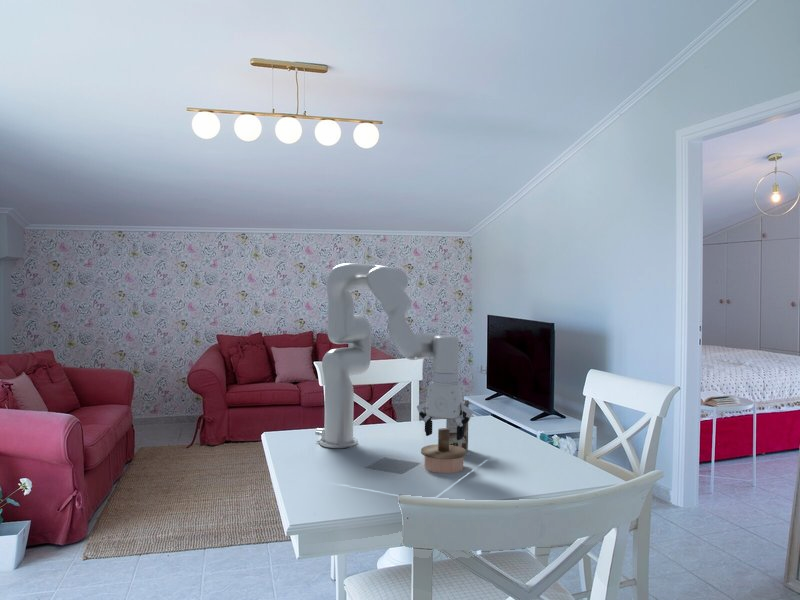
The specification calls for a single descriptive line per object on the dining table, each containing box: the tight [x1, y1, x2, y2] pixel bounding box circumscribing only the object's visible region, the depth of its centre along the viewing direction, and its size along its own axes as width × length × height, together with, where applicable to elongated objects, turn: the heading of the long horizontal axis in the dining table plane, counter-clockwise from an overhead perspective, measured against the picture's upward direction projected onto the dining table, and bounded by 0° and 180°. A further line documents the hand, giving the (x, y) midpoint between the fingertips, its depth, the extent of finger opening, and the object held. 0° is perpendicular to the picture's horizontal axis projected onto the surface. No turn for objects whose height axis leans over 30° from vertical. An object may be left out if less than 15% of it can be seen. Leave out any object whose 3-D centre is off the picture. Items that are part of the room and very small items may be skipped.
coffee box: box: [445, 399, 470, 454], centre depth 199 cm, size 9×6×16 cm
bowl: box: [423, 455, 465, 474], centre depth 182 cm, size 11×11×4 cm
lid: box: [420, 427, 467, 459], centre depth 182 cm, size 13×13×7 cm
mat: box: [364, 457, 421, 475], centre depth 182 cm, size 12×12×1 cm
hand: (444, 437), depth 181 cm, fingers open, 9 cm apart
